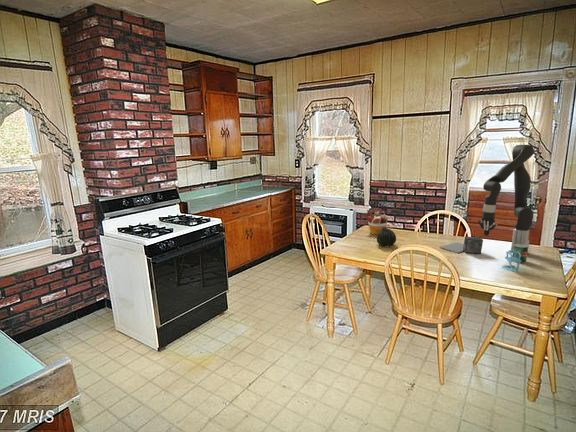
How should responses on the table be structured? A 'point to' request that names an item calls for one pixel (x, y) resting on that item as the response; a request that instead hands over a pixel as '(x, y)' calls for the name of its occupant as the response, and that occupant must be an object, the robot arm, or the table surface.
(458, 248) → the mat
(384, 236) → the squash
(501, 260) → the table surface
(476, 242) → the small box
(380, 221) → the bucket of meat
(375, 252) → the table surface
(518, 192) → the robot arm
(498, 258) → the table surface
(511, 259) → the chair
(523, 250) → the canned tomato
